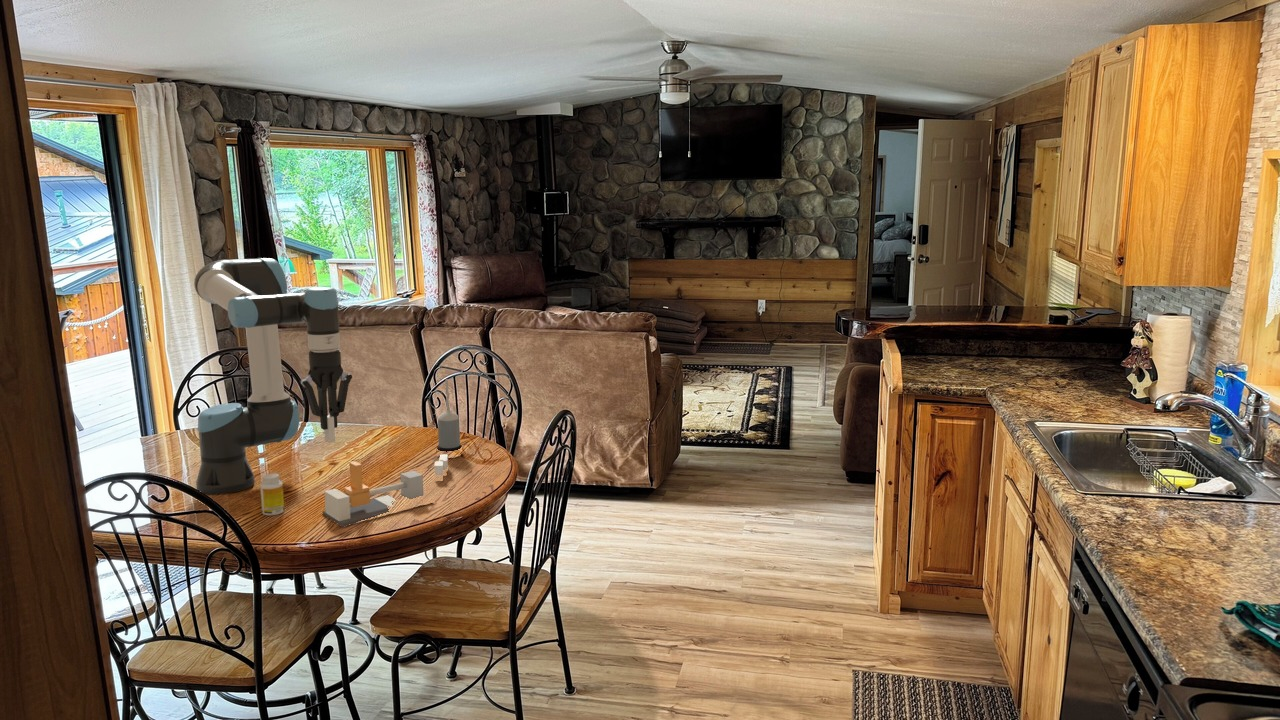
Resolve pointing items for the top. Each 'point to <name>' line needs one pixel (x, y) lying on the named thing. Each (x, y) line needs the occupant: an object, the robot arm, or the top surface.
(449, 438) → the grey bottle
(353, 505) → the orange rod slider
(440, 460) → the white blocky piece
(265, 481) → the supplement bottle
